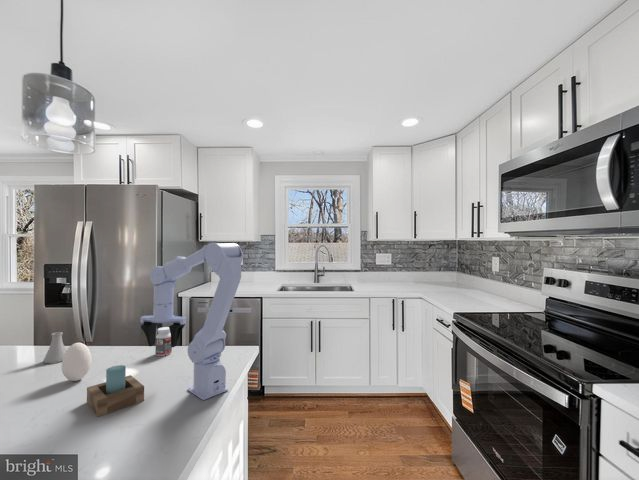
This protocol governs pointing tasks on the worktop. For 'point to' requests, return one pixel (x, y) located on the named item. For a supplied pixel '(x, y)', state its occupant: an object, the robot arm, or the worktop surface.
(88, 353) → the egg
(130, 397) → the walnut holder
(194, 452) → the worktop surface
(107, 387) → the teal peg
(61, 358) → the flask
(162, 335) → the pill bottle
